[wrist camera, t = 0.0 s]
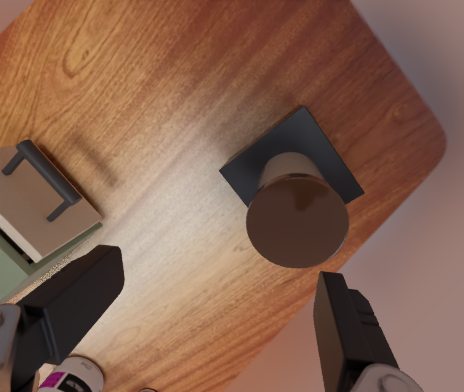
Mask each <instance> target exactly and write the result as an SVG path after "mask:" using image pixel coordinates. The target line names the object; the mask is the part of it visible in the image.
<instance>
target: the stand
mask: <svg viewBox="0 0 464 392" xmlns="http://www.w3.org/2000/svg"><path fill="white" fill-rule="evenodd" d="M286 152H296V153H300V154H303V155H305V156H307V157H308V158H310V159H311V160H312V161H313V162H314V163H315V164H316V166H317V167H318V169H319V171H320V172H321V174H322V175H323V177H324V179H325V180H326V182H327V183H329V184H330V185H331V186H332V187H333V188H334V189H335V190H336V191H337V193H338V194H339V195H340V197H341V198H342V200H343V202H344V203H345V205H346V204H347V203H349V202H351V201H352V200H354V199H356V198H357V197H359V196H361V195H363V194H364V191H363V190H362V188H361V187H360V185H359V184H358V182H357V181H356V179H355V178H354V177H353V175H352V174H351V172H350V171H349V169H348V168H347V166H346V165H345V163H344V162H343V160H342V159H341V158H340V156H339V155H338V153H337V152H336V150H335V149H334V147H333V146H332V144H331V143H330V142H329V140H328V139H327V137H326V136H325V134H324V133H323V131H322V130H321V128H320V127H319V125H318V124H317V123H316V121H315V120H314V118H313V117H312V115H311V114H310V112H309V111H308V109H307V108H306V107H305V105H299V106H298V107H297V108H295V109H294V110H293V111H291V112H290V113H289V114H288V115H286V116H285V117H284V118H282V119H281V120H280V121H278V122H277V123H276V124H274V125H273V126H272V127H271V128H269V129H268V130H267V131H265V132H264V133H263V134H261V135H260V136H259V137H258V138H256V139H255V140H254V141H252V142H251V143H250V144H248V145H247V146H246V147H244V148H243V149H242V150H241V151H239V152H238V153H237V154H235V155H234V156H233V157H231V158H230V159H229V160H228V161H227V162H226V163H225V164H224V165H223V167H222V168H221V169H220V170H219V172H220V173H221V174H222V175H223V177H224V178H225V179H226V180H227V182H228V183H229V184H230V186H231V187H232V188H233V189H234V191H235V192H236V193H237V194H238V196H239V197H240V198H241V199H242V201H243V202H244V203H245V205H246V206H247V207H248V208H249V205H250V202H251V200H252V198H253V196H254V195H255V193H256V191H257V187H258V183H259V179H260V175H261V172H262V169H263V167H264V166H265V164H266V163H267V162H268V161H269V160H270V159H272V158H273V157H275V156H276V155H279V154H281V153H286Z"/></svg>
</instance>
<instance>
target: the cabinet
mask: <svg viewBox="0 0 464 392" xmlns="http://www.w3.org/2000/svg"><path fill="white" fill-rule="evenodd" d="M101 227H102V225H101V224H100V223H99V222H98V223H97V224H95V225H94V226H92V227H91V228H89V229H88V230H86V231H85V232H83V233H82V234H80V235H78V236H77V237H75V238H74V239H72V240H71V241H69V242H68V243H66V244H65V245H63V246H62V247H60V248H59V249H57V250H56V251H54V252H53V253H51V254H50V255H48V256H47V257H45V258H43V259H42V260H40V261H39V262H37V263H35V262H33V263H31V264H29V263H28V262H27V261H26V260H25V259H24V258H23V257H22V256H21V255H20V254H19V253H18V252H17V251H16V250H15V249H14V248H13V247H12V246H11V245H10V244H9V243H8V242H7V241H6V240H5V239H4V238H3V237H2V236H1V235H0V304H5V303H6V302H8V301H9V300H10V299H12V298H13V297H14V296H16V295H17V294H19V293H20V292H21V291H23V290H24V289H25V288H27V287H28V286H30V285H31V284H32V283H34V282H35V281H36V280H38V279H39V278H40V277H41V276H43V275H44V274H45V273H46V272H47V271H49V270H50V269H51V268H52V267H53V266H55V265H56V264H57V263H58V262H59V261H61V260H62V259H63V258H64V257H66V256H67V255H68V254H69V253H70V252H72V251H73V250H74V249H75V248H76V247H78V246H79V245H80V244H81V243H82V242H84V241H85V240H86V239H87V238H88V237H90V236H91V235H92V234H93V233H94V232H96V231H97V230H98V229H99V228H101Z"/></svg>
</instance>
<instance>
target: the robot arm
mask: <svg viewBox="0 0 464 392" xmlns="http://www.w3.org/2000/svg"><path fill="white" fill-rule="evenodd" d="M124 281H125V278H124V270H123V262H122V254H121V249H120V248H119V247H117V246H109V245H98V246H96V247H95V248H94V249H93V250H91V251H90V252H89V253H87V254H86V255H84V256H82V257H80V258H78V259H75V260H73V261H71V262H70V263H69V264H67V265H66V266H65V267H63V268H62V269H61V270H60V271H58V272H57V273H55V274H54V275H53V276H51V278H49V279H47V280H46V281H45V282H43V283H42V284H41V285H40V286H38V287H37V288H36V289H34V290H33V291H32V292H30V293H29V294H28V295H26V296H25V297H24V298H22V299H21V300H20V301H18V302H17V303H16V304H11V303H6V304H0V392H38V386H39V380H40V373H39V368H40V367H41V366H42V365H43V364H44V363H48V364H53V365H58V366H60V365H61V364H62V362H63V361H64V360H65V359H66V358H67V356H68V355H69V354H70V353H71V352H72V350H73V349H74V348H75V347H76V346H77V344H78V343H79V342H80V341H81V340H82V338H83V337H84V336H85V335H86V334H87V332H88V331H89V330H90V329H91V328H92V326H93V325H94V324H95V323H96V322H97V320H98V319H99V318H100V317H101V316H102V315H103V313H104V312H105V311H106V310H107V309H108V307H109V306H110V305H111V304H112V303H113V301H114V300H115V299H116V298H117V297H118V295H119V294H120V293H121V291H122V289H123V286H124ZM313 317H314V326H315V332H316V338H317V344H318V351H319V357H320V362H321V369H322V375H323V381H324V387H325V392H423V390H422V388H421V387H420V386H419V385H418V384H417V383H416V382H415V381H414V380H413V379H412V378H411V377H410V376H408V375H407V374H406V373H404V372H403V371H400V369H399V367H398V364H397V362H396V360H395V358H394V355H393V353H392V351H391V349H390V347H389V345H388V343H387V340H386V338H385V336H384V334H383V331H382V329H381V327H380V326H379V323H378V321H377V318H376V317H375V316H374V312H373V310H372V308H371V306H370V303H369V301H368V300H367V299H366V298H365V297H364V296H363V295H362V294H361V293H360V292H359V291H358V290H354V289H348V287H347V285H346V282H345V279H344V277H343V275H342V274H340V273H332V272H324V271H320V273H319V277H318V283H317V290H316V296H315V302H314V311H313Z"/></svg>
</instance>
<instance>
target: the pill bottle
mask: <svg viewBox="0 0 464 392" xmlns="http://www.w3.org/2000/svg"><path fill="white" fill-rule="evenodd" d="M140 392H155V391H153V390H150V389H143V390H141V391H140Z"/></svg>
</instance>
